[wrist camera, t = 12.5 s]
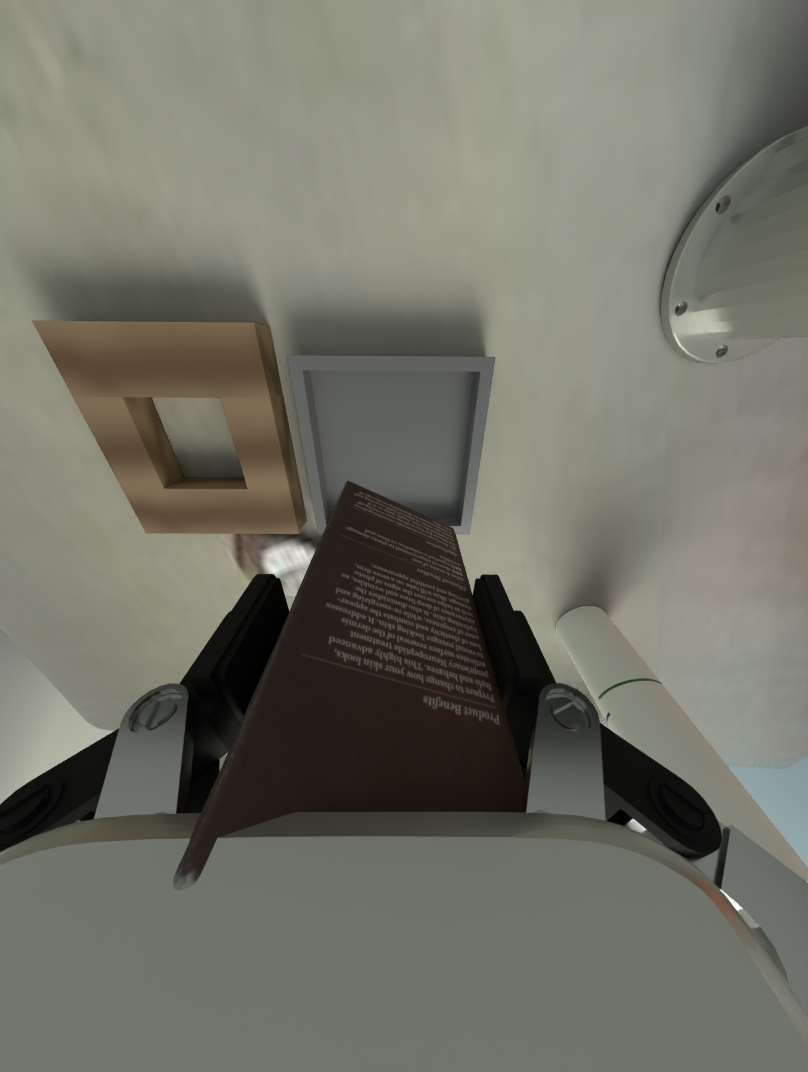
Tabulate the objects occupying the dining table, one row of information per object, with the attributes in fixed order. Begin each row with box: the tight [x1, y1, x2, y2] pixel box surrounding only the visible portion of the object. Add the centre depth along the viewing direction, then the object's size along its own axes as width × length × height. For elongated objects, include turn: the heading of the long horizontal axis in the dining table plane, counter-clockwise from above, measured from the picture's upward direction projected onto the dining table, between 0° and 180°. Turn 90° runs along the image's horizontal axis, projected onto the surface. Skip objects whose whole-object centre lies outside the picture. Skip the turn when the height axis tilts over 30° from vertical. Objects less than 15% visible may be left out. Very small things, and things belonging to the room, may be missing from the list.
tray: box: [287, 355, 495, 534], centre depth 28 cm, size 16×16×3 cm
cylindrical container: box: [556, 606, 808, 882], centre depth 32 cm, size 7×7×25 cm
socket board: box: [33, 321, 307, 534], centre depth 27 cm, size 18×16×3 cm
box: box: [173, 481, 525, 891], centre depth 10 cm, size 6×4×12 cm
